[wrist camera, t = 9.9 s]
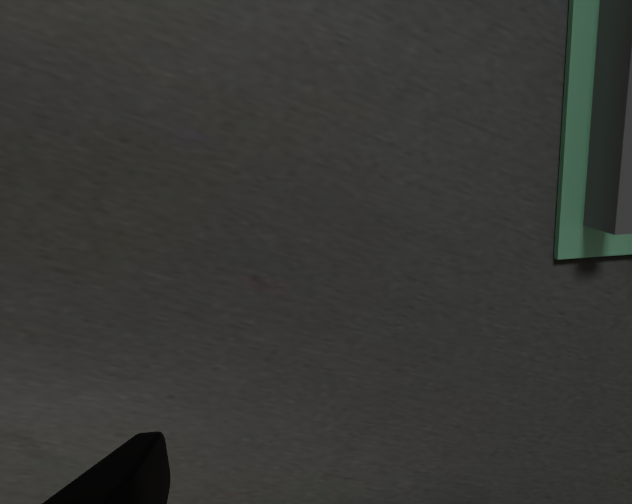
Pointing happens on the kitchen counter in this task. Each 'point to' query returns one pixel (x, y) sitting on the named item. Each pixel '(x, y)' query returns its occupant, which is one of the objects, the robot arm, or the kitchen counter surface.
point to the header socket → (596, 133)
